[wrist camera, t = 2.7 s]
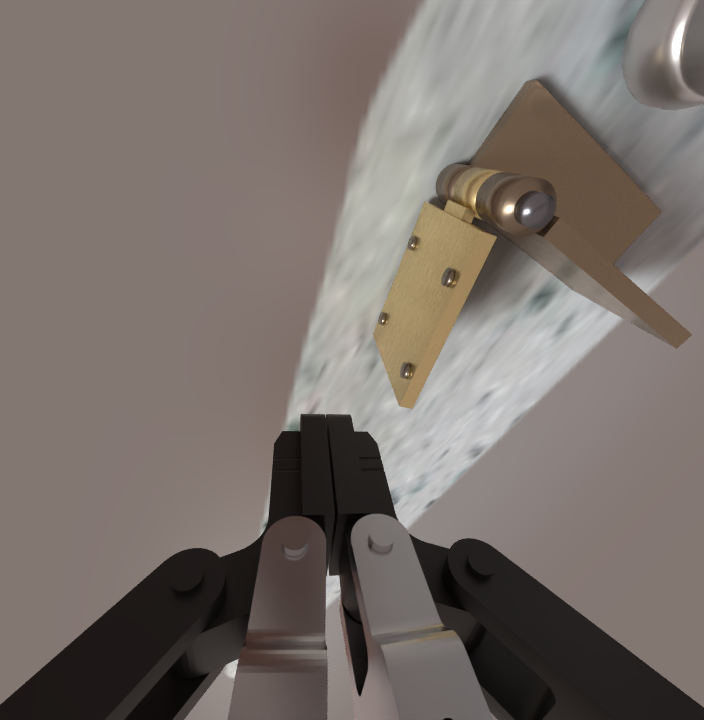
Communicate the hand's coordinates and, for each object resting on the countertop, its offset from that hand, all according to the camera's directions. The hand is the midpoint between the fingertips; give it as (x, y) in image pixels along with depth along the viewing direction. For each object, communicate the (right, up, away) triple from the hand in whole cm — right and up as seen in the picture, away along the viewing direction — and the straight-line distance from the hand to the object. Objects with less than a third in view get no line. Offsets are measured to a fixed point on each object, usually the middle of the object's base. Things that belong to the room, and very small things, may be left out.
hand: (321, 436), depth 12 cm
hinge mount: (+14, +13, +14) cm, 24 cm away
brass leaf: (+6, +9, +15) cm, 18 cm away
